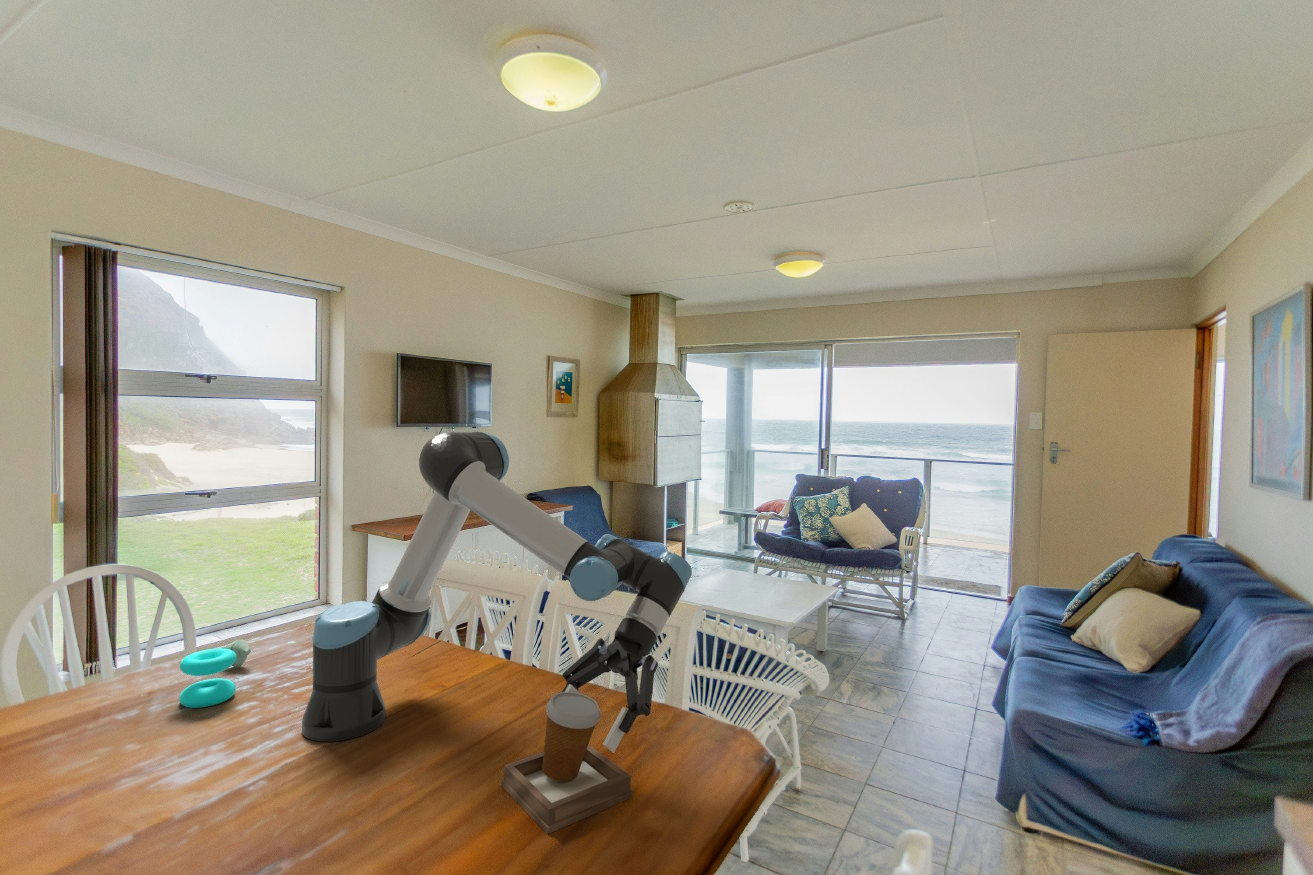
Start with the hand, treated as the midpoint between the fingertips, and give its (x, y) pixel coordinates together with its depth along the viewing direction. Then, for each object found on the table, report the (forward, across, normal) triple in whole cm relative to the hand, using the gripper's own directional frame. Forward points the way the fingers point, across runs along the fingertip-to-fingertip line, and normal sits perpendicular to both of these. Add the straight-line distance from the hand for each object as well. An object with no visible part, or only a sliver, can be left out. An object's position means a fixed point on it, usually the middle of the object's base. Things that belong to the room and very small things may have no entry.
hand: (580, 734), depth 106 cm
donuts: (+30, +83, +17) cm, 90 cm away
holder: (+8, 0, -4) cm, 9 cm away
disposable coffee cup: (+6, +3, -4) cm, 8 cm away
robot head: (+23, +100, +10) cm, 103 cm away
